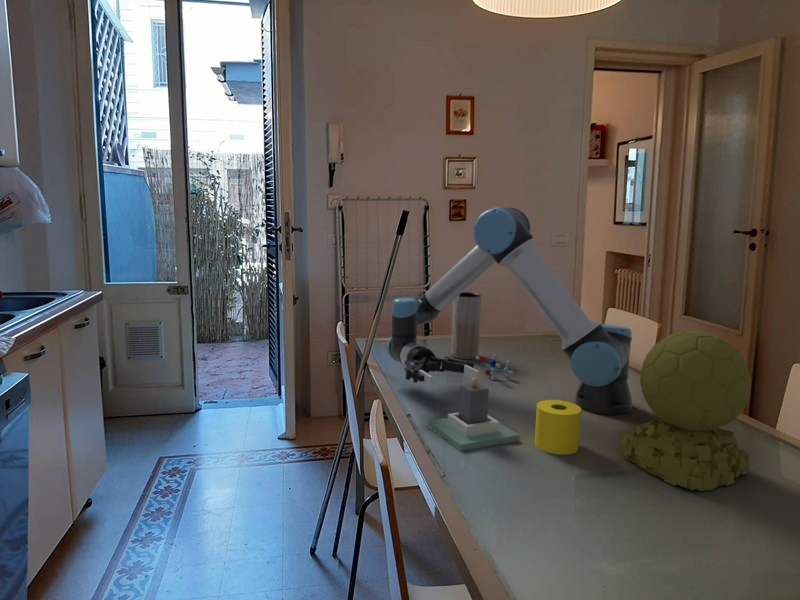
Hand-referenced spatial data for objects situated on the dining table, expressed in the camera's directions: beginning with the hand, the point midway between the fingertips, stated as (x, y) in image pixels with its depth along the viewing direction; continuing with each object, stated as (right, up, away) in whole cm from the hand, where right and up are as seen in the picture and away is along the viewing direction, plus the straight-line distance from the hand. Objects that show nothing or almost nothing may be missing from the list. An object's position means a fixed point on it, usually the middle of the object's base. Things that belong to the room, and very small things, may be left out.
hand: (455, 379), depth 153 cm
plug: (+4, -11, -7) cm, 13 cm away
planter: (+9, 0, +66) cm, 67 cm away
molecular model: (+16, -5, +40) cm, 43 cm away
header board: (+4, -12, -6) cm, 14 cm away
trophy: (+48, -16, -22) cm, 55 cm away
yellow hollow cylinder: (+23, -14, -12) cm, 29 cm away
